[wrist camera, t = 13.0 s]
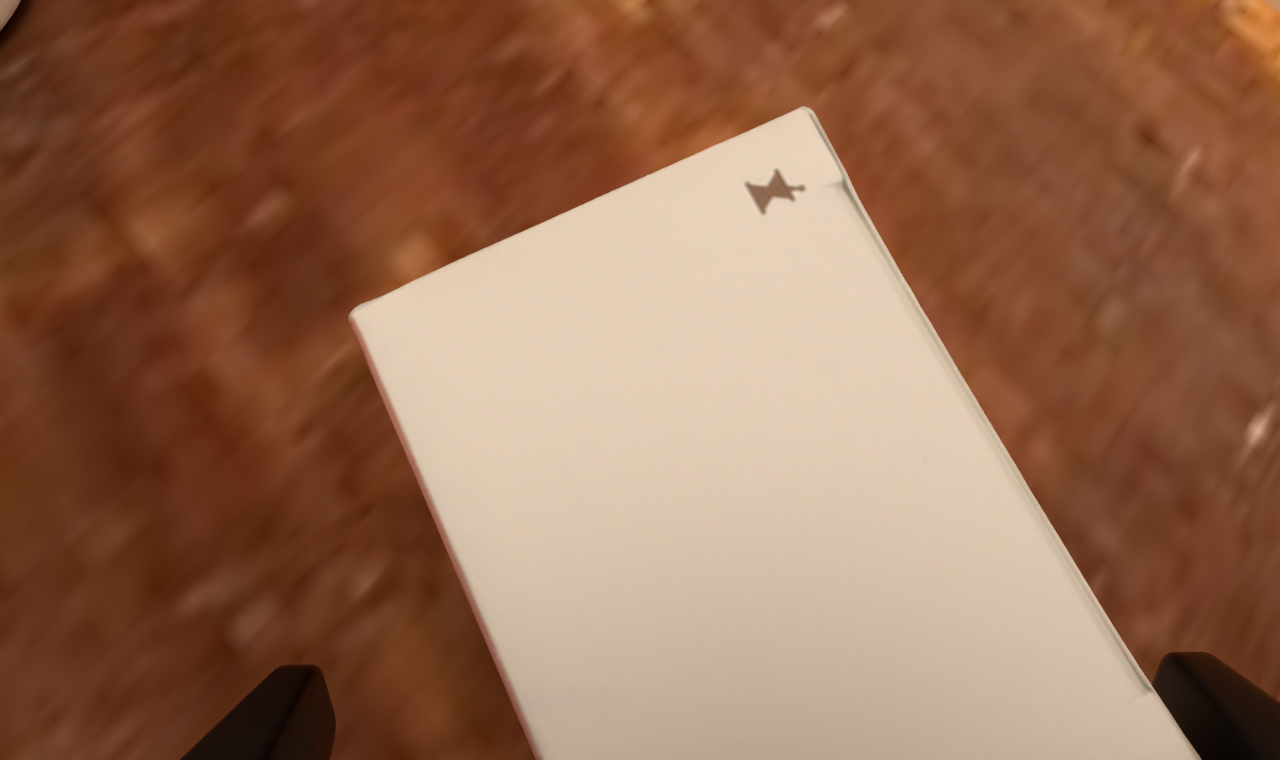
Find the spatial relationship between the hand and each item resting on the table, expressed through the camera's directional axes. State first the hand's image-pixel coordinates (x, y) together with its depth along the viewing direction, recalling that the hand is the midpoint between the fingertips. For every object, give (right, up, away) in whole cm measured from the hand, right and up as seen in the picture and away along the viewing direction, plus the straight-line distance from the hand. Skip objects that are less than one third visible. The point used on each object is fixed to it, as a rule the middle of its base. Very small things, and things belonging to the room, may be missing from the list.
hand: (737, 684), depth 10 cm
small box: (0, -1, +9) cm, 9 cm away
